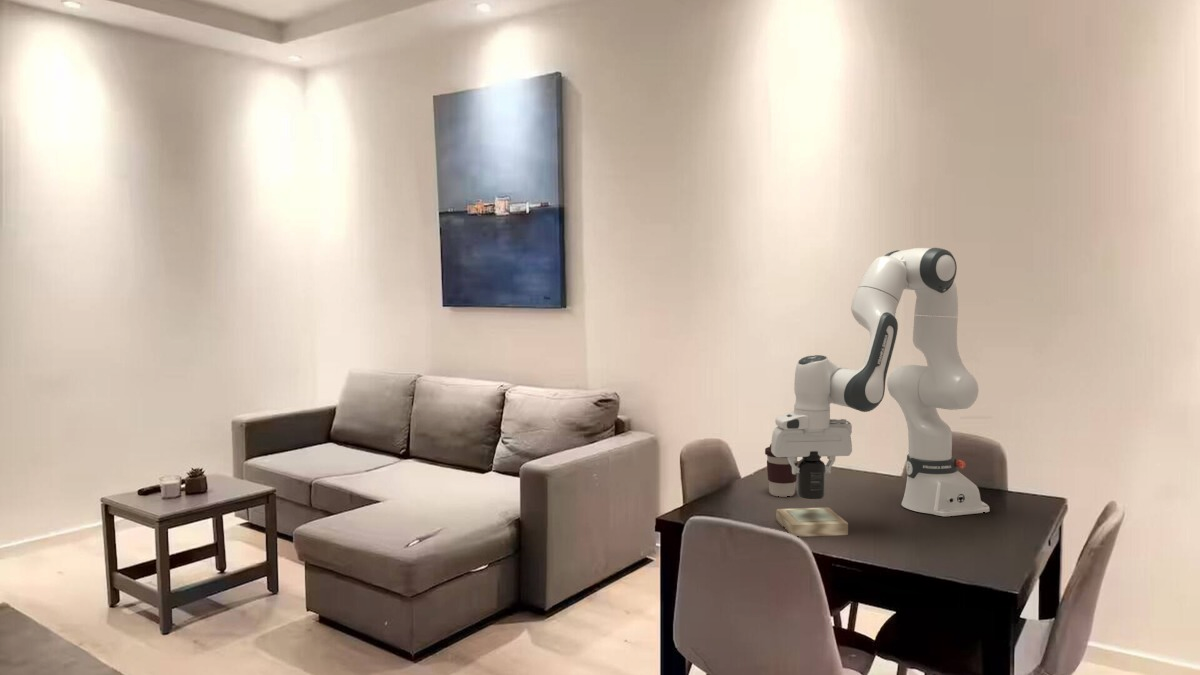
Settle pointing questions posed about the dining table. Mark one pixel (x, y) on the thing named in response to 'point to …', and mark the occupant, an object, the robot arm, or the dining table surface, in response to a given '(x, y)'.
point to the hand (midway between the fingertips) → (811, 473)
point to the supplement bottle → (811, 477)
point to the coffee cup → (780, 475)
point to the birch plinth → (812, 522)
